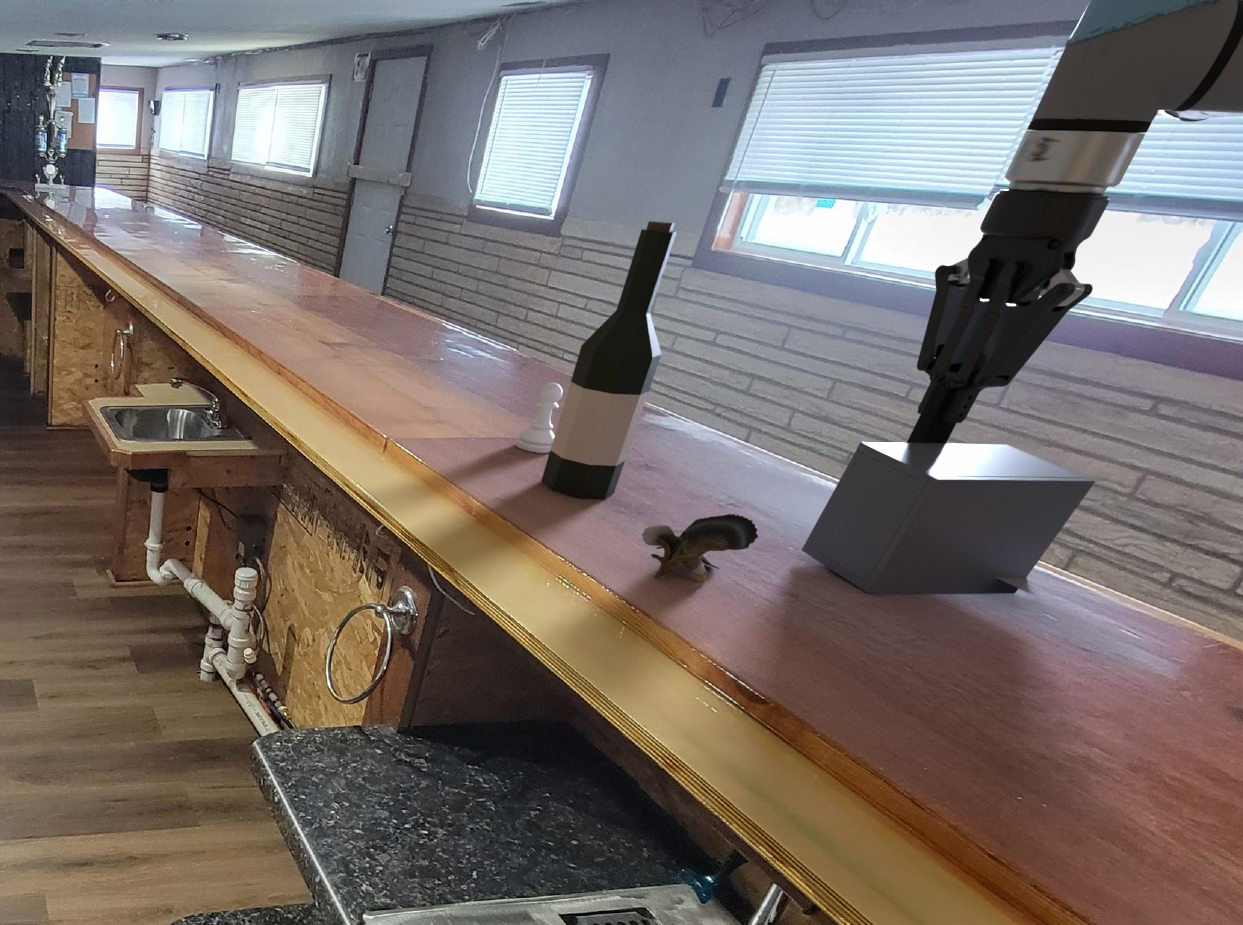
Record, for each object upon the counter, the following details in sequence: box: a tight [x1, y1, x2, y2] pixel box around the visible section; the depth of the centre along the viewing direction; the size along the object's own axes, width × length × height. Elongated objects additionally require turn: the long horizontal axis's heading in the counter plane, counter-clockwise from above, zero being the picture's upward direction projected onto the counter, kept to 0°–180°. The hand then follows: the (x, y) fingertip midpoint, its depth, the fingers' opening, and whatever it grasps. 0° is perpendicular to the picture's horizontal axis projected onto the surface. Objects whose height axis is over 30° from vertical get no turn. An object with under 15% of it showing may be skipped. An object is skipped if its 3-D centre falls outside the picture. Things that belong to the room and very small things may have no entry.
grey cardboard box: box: [801, 441, 1096, 595], centre depth 89 cm, size 16×9×12 cm, turn 95°
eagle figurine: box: [641, 513, 759, 584], centre depth 89 cm, size 8×7×9 cm
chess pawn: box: [515, 382, 563, 454], centre depth 124 cm, size 5×5×9 cm
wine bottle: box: [540, 220, 677, 500], centre depth 105 cm, size 8×8×30 cm
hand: (922, 451), depth 91 cm, fingers closed
